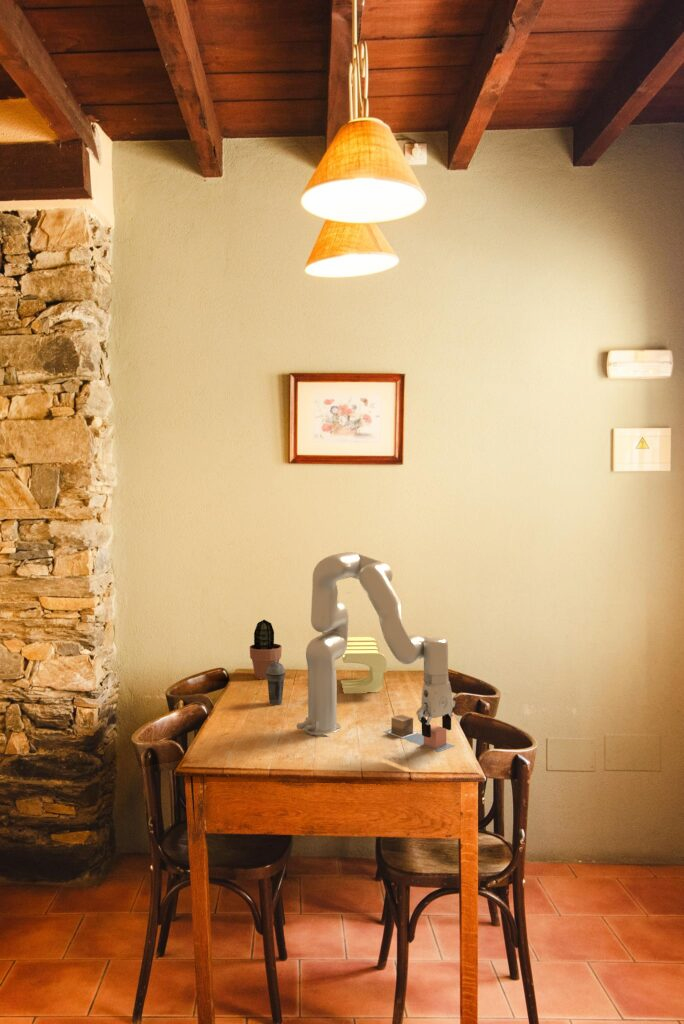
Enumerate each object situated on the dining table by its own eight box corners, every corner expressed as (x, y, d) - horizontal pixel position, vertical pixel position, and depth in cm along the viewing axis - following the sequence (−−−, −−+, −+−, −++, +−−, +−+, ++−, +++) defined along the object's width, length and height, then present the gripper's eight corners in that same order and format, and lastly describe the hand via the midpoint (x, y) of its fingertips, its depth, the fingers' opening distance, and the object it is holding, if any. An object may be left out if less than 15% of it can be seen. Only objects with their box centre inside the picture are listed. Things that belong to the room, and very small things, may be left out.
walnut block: (402, 736, 231) (402, 721, 231) (391, 732, 235) (391, 717, 235) (413, 733, 234) (413, 718, 234) (401, 729, 238) (401, 714, 238)
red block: (435, 748, 221) (435, 732, 221) (423, 744, 224) (423, 728, 224) (446, 744, 224) (446, 728, 224) (434, 740, 228) (434, 724, 228)
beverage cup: (285, 700, 273) (286, 648, 272) (284, 706, 266) (285, 653, 265) (266, 700, 273) (266, 648, 272) (265, 706, 265) (265, 653, 265)
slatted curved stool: (386, 698, 276) (386, 652, 276) (345, 699, 275) (345, 653, 275) (377, 678, 306) (377, 636, 306) (339, 678, 305) (340, 637, 305)
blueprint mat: (439, 755, 218) (439, 751, 218) (383, 734, 236) (383, 731, 236) (455, 749, 223) (455, 745, 223) (399, 729, 241) (399, 726, 241)
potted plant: (287, 675, 310) (288, 618, 309) (268, 682, 298) (268, 623, 298) (263, 671, 317) (263, 615, 316) (243, 678, 306) (243, 619, 305)
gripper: (426, 685, 215) (427, 742, 215) (463, 675, 227) (463, 729, 227) (408, 681, 221) (408, 736, 221) (444, 671, 232) (445, 723, 232)
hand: (436, 732), depth 224 cm, fingers open, 9 cm apart
